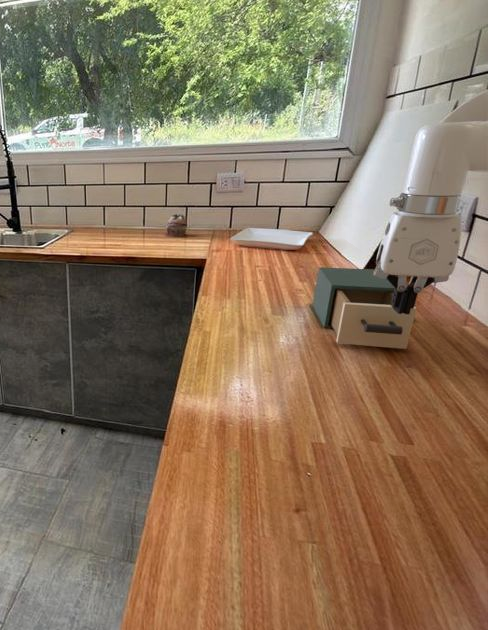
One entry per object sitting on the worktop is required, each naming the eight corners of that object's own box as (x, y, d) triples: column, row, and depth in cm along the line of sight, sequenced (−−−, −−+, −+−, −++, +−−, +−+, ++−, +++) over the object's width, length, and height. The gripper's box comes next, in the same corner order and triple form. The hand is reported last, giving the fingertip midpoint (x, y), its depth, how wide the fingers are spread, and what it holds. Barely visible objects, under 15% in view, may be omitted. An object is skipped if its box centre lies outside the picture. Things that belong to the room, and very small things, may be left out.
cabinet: (392, 333, 100) (403, 288, 96) (323, 328, 104) (331, 285, 100) (371, 310, 114) (380, 269, 110) (312, 306, 118) (318, 267, 114)
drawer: (415, 359, 87) (426, 317, 83) (342, 352, 90) (350, 312, 87) (383, 322, 104) (392, 286, 100) (323, 318, 107) (330, 283, 104)
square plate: (228, 247, 184) (229, 237, 183) (246, 235, 205) (247, 226, 203) (301, 253, 169) (302, 243, 168) (312, 240, 190) (314, 231, 189)
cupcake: (186, 233, 213) (187, 212, 209) (186, 238, 204) (187, 215, 201) (165, 233, 215) (166, 212, 211) (165, 237, 206) (166, 215, 203)
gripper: (381, 208, 71) (358, 315, 78) (497, 209, 67) (461, 323, 74) (368, 202, 78) (347, 301, 85) (472, 203, 74) (442, 307, 80)
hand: (400, 311), depth 79 cm, fingers closed
